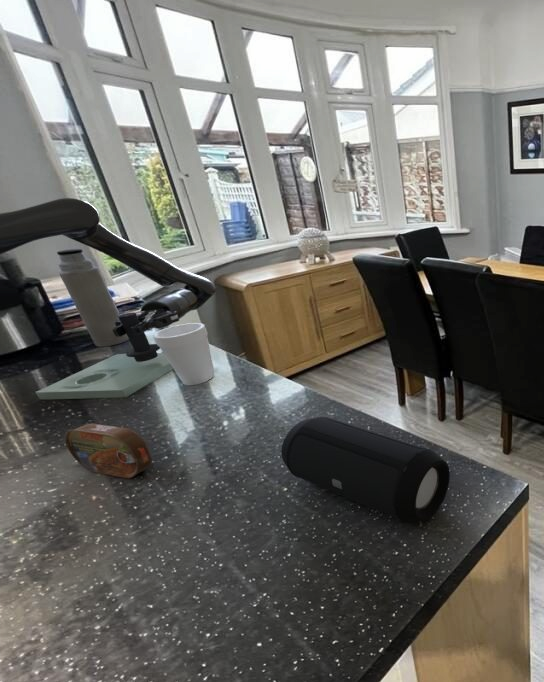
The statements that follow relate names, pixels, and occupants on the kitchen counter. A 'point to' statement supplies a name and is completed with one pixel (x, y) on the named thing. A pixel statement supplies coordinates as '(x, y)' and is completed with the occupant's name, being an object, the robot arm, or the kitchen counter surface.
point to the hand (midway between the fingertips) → (125, 332)
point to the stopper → (137, 340)
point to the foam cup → (187, 351)
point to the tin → (109, 450)
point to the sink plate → (108, 378)
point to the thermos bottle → (90, 297)
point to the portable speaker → (368, 467)
